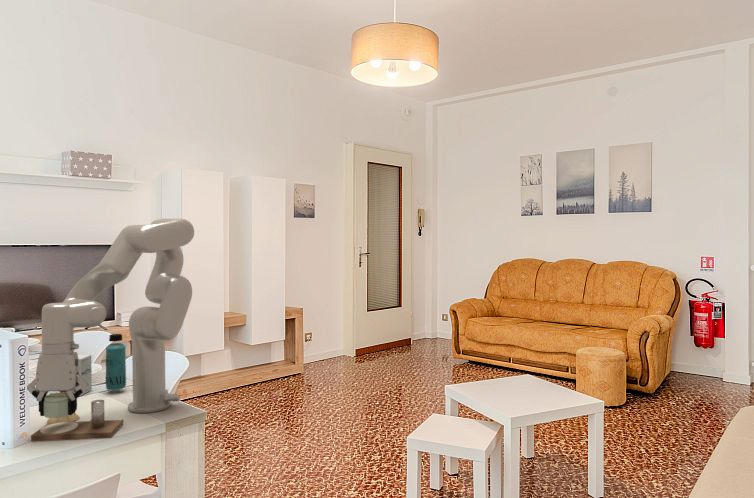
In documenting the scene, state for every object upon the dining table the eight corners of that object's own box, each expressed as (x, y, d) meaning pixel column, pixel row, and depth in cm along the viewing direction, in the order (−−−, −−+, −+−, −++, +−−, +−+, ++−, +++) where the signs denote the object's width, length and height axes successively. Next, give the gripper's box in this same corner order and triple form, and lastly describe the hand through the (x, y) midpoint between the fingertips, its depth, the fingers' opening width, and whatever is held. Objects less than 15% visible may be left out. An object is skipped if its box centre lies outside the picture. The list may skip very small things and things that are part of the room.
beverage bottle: (113, 388, 196) (112, 332, 195) (130, 389, 195) (129, 332, 194) (101, 394, 189) (100, 335, 189) (119, 395, 188) (118, 336, 188)
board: (123, 424, 159) (123, 419, 159) (111, 437, 149) (110, 431, 149) (48, 428, 157) (48, 422, 156) (31, 441, 147) (30, 434, 147)
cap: (75, 410, 156) (75, 390, 155) (65, 417, 149) (65, 396, 149) (51, 410, 155) (51, 390, 155) (40, 418, 148) (40, 397, 148)
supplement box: (81, 396, 187) (80, 359, 186) (59, 396, 187) (58, 359, 186) (92, 390, 194) (92, 354, 194) (71, 390, 194) (70, 354, 194)
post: (106, 424, 155) (105, 399, 155) (102, 428, 152) (101, 402, 152) (94, 424, 155) (93, 399, 155) (89, 428, 152) (89, 403, 151)
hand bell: (86, 416, 166) (85, 363, 166) (64, 426, 158) (63, 370, 158) (62, 414, 168) (62, 362, 168) (40, 423, 160) (39, 368, 160)
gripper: (96, 345, 156) (96, 409, 157) (30, 346, 154) (30, 410, 154) (86, 350, 149) (86, 417, 149) (16, 351, 147) (16, 419, 147)
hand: (58, 413), depth 152 cm, fingers closed on cap, 6 cm apart
